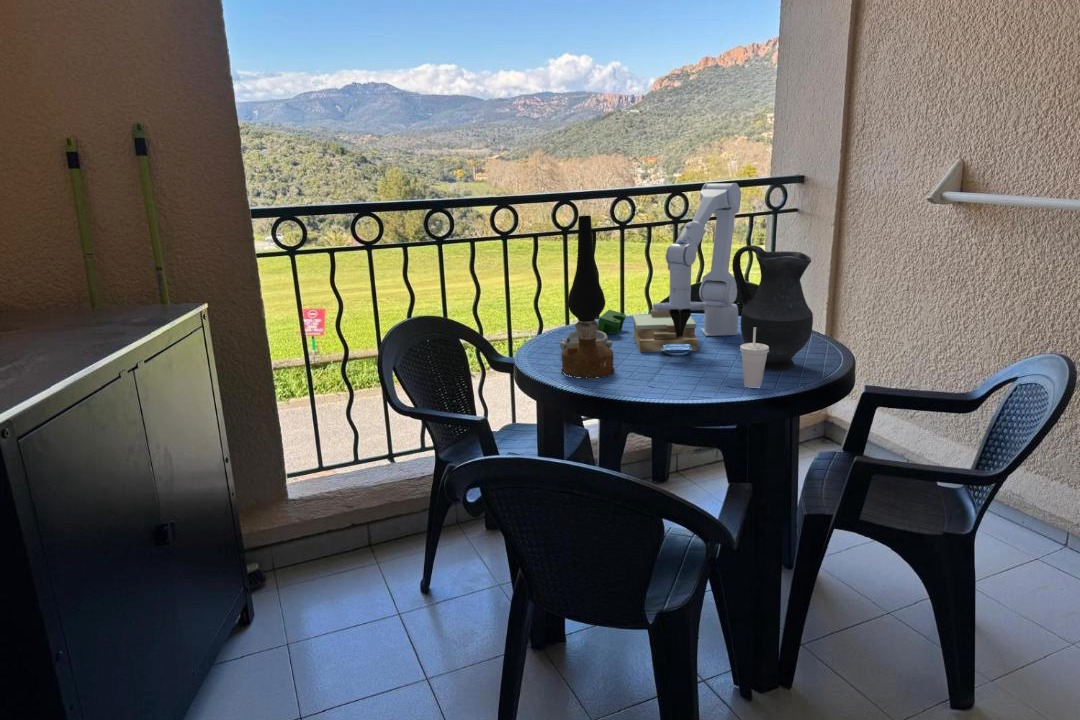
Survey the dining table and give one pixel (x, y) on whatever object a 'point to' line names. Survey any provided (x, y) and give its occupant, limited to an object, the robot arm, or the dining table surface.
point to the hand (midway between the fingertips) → (679, 335)
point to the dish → (574, 335)
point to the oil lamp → (586, 314)
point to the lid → (659, 321)
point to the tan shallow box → (650, 344)
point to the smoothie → (753, 361)
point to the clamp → (611, 322)
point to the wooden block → (664, 335)
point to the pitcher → (775, 305)
